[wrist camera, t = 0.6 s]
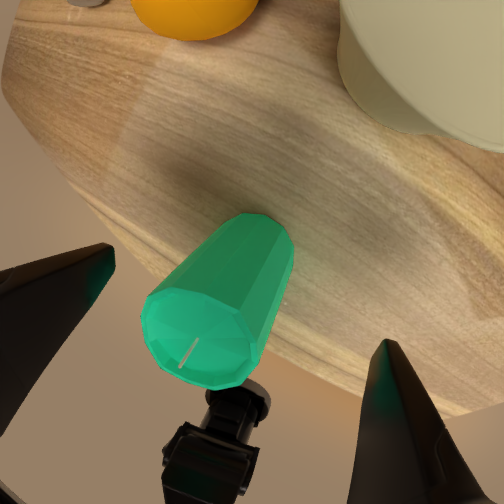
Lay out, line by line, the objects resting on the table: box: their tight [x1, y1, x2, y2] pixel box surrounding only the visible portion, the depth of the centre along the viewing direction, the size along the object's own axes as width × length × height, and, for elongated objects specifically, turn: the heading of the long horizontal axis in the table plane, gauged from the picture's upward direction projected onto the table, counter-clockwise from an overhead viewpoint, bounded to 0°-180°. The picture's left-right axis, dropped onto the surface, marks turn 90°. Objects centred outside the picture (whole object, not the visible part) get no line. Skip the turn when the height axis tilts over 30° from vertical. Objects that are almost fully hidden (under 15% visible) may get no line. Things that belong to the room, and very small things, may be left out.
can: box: [337, 0, 504, 153], centre depth 9 cm, size 9×9×12 cm
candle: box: [140, 213, 294, 391], centre depth 17 cm, size 6×6×12 cm
